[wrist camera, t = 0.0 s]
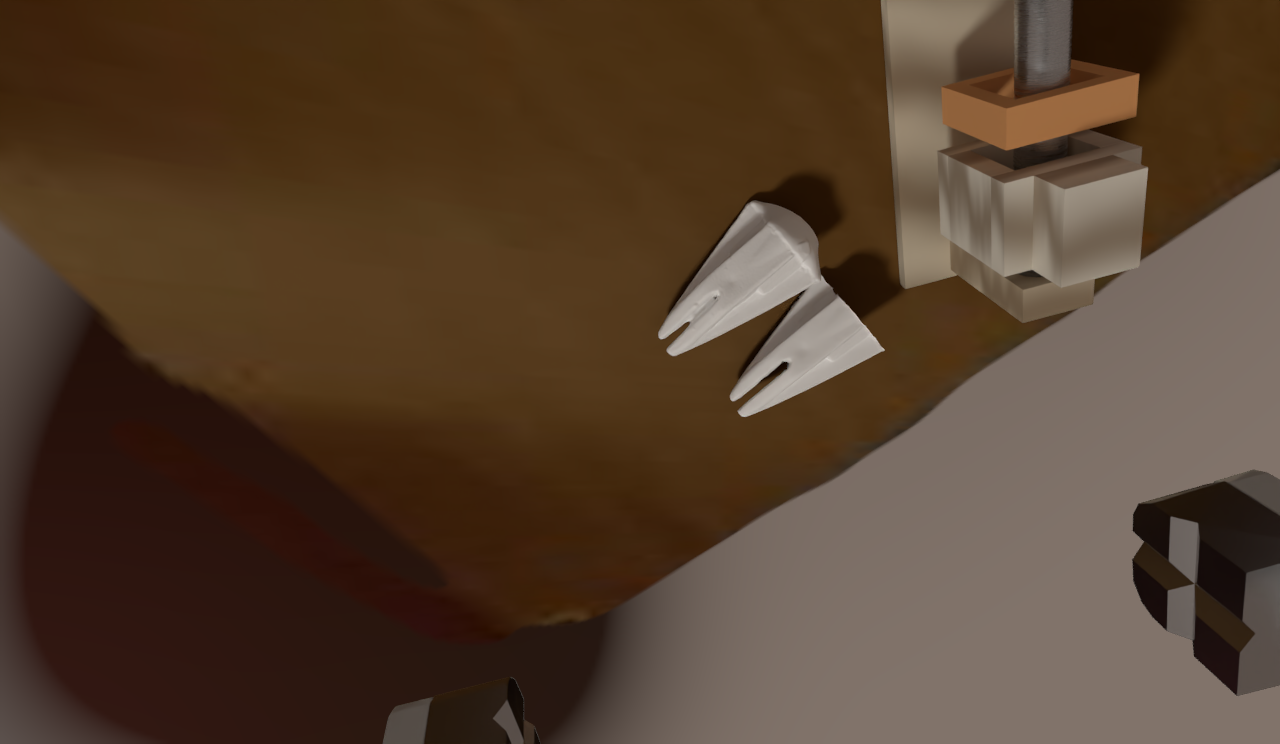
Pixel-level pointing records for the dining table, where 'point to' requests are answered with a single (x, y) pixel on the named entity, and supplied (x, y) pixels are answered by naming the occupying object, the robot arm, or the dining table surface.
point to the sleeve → (1046, 208)
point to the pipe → (1041, 68)
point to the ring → (1039, 105)
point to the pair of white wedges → (771, 306)
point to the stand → (949, 142)
